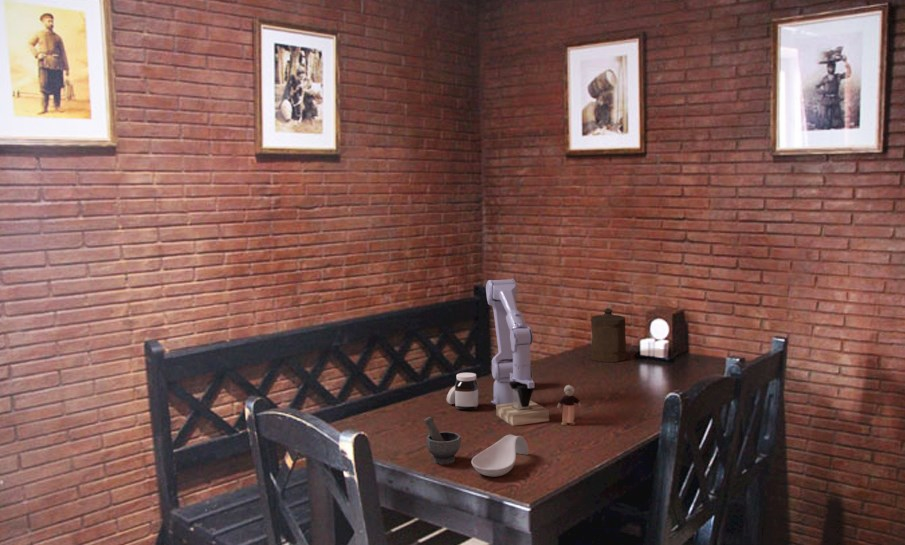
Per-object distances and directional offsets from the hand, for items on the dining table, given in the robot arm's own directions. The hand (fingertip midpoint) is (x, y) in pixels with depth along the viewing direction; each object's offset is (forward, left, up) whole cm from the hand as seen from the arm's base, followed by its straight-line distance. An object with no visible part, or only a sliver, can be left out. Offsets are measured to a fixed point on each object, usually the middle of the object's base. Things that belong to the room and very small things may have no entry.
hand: (522, 404), depth 265 cm
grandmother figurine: (+12, +11, -5) cm, 17 cm away
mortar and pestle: (+27, -38, -5) cm, 47 cm away
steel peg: (0, 0, -3) cm, 3 cm away
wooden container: (-64, +72, -5) cm, 96 cm away
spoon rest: (+38, -24, -5) cm, 45 cm away
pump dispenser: (-36, +16, -5) cm, 40 cm away
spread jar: (-21, -13, -5) cm, 25 cm away
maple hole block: (0, 0, -4) cm, 4 cm away
